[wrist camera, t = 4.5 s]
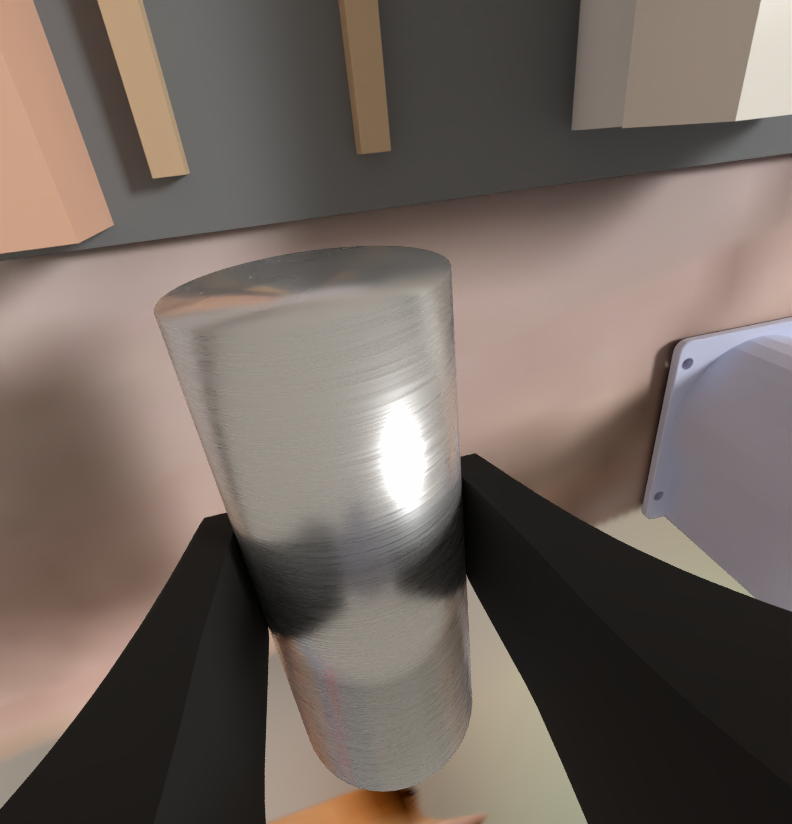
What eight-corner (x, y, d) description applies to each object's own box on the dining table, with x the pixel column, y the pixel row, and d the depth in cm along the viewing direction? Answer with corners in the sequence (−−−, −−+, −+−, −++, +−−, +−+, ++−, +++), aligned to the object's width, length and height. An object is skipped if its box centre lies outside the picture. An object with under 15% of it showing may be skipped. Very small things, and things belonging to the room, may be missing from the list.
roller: (430, 601, 14) (505, 740, 11) (292, 655, 13) (326, 828, 10) (392, 235, 9) (510, 281, 6) (162, 276, 8) (139, 363, 5)
